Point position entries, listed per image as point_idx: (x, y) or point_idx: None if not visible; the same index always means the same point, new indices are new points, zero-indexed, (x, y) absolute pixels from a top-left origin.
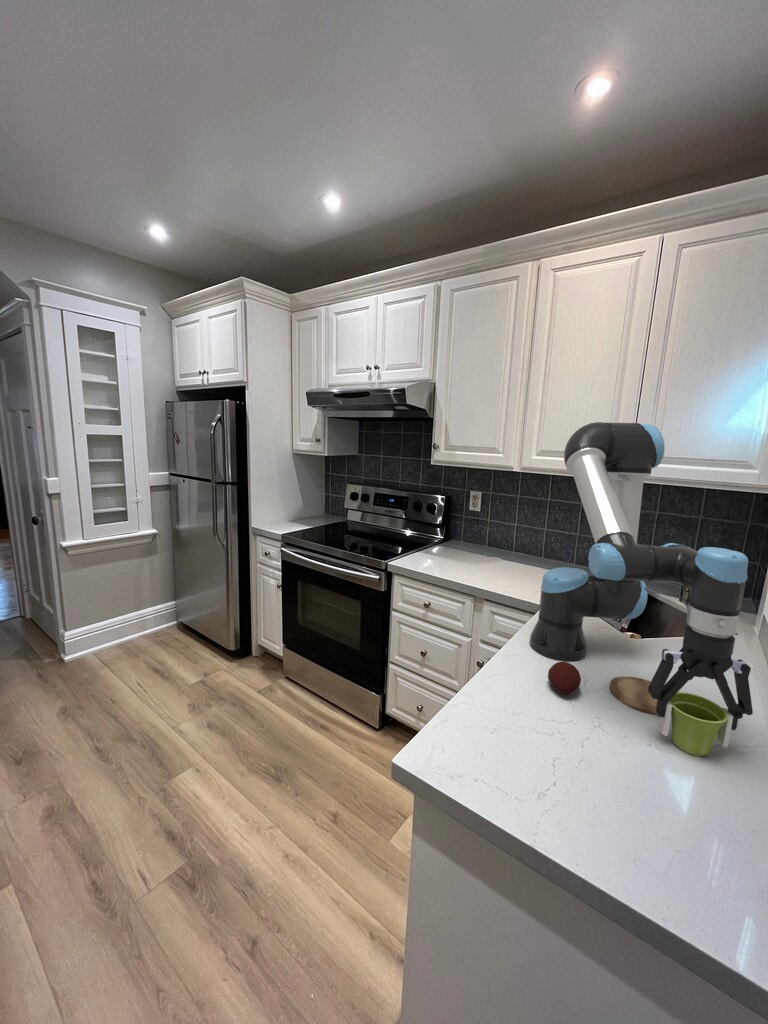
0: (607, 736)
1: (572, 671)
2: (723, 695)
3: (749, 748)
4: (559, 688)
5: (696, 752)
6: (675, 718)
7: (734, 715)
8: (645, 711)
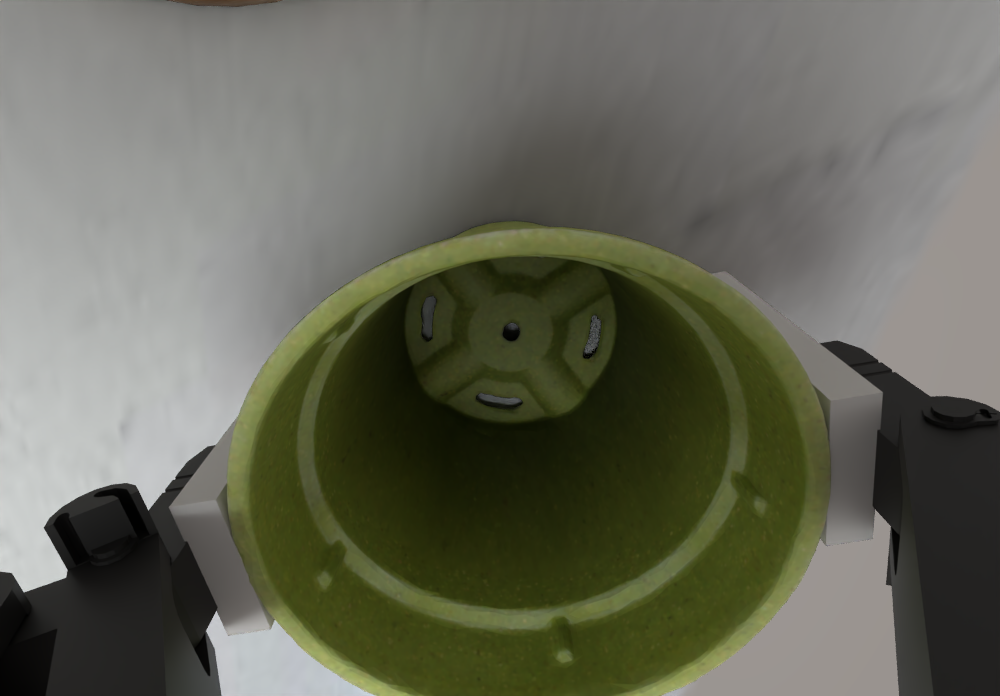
0: (35, 477)
1: None
2: (910, 658)
3: (921, 144)
4: None
5: (522, 437)
6: (354, 507)
7: (888, 562)
8: (212, 4)
